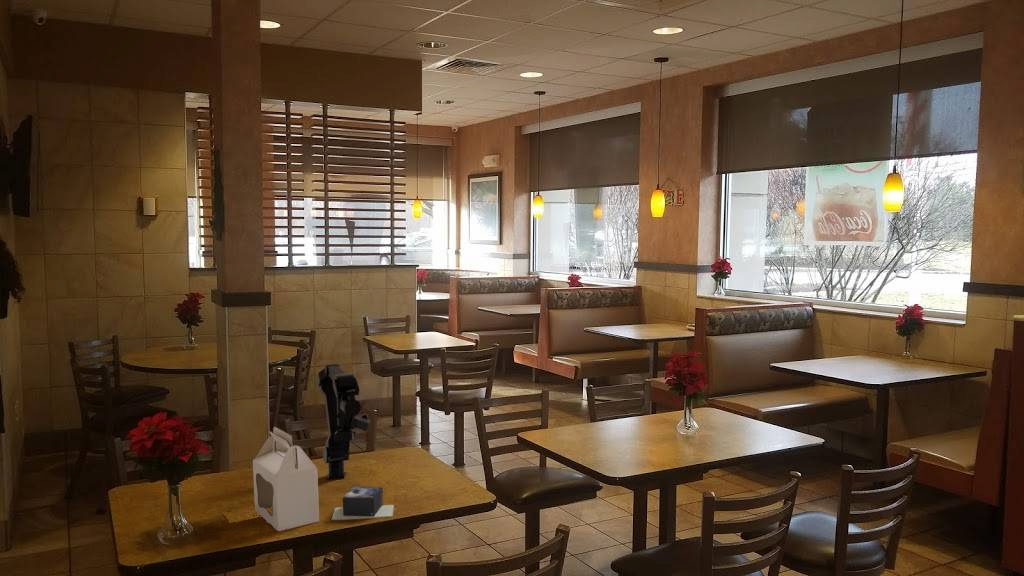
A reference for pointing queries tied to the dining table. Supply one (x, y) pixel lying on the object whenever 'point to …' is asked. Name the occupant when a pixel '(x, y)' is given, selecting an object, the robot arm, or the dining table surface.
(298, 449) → the gable box
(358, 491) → the small box
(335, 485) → the dining table surface
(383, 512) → the mat
